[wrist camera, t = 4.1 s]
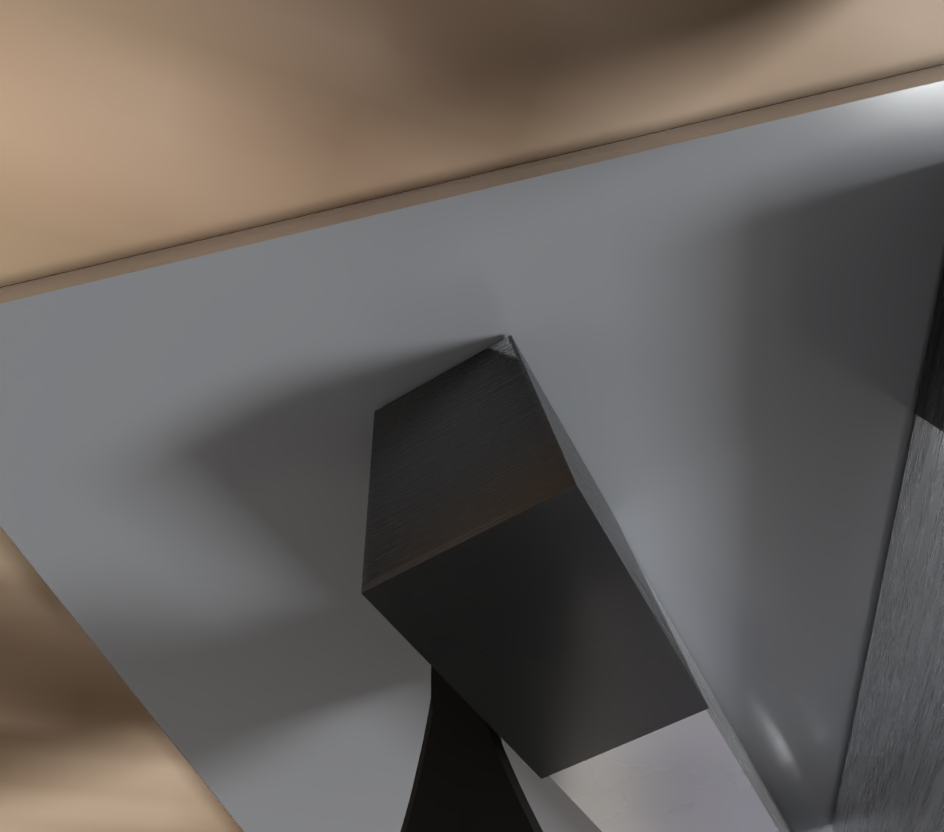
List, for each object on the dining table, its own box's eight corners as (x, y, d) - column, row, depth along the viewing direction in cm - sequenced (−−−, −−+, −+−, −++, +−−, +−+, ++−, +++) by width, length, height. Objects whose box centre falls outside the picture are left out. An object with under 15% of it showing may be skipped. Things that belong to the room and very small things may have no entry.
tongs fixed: (876, 901, 20) (993, 1105, 16) (735, 933, 20) (818, 1144, 16) (1128, 117, 8) (1857, 156, 4) (773, 200, 8) (1143, 321, 4)
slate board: (920, 817, 20) (949, 858, 19) (370, 941, 20) (368, 988, 19) (1204, 3, 8) (1318, -9, 7) (-84, 307, 9) (-149, 338, 8)
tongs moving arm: (798, 839, 17) (888, 1009, 14) (722, 867, 17) (793, 1039, 14) (510, 334, 8) (576, 485, 5) (374, 411, 9) (361, 593, 6)
